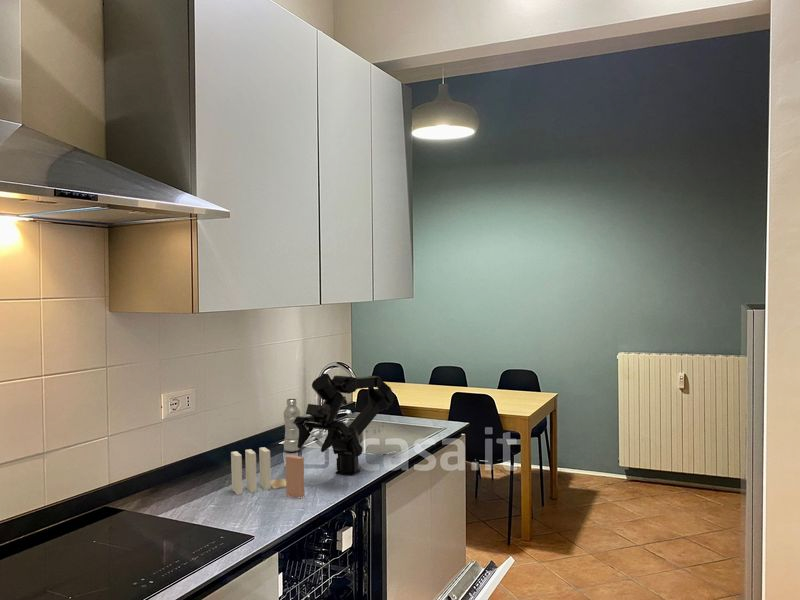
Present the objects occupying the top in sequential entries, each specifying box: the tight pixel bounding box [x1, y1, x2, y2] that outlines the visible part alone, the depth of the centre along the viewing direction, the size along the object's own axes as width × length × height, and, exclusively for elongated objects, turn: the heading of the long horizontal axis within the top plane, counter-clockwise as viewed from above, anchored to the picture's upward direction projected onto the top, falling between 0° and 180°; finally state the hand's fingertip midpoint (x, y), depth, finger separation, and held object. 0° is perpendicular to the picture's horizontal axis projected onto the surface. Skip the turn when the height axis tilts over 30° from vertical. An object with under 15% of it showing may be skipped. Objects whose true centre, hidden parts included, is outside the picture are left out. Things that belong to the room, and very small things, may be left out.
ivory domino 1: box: [230, 451, 243, 496], centre depth 197 cm, size 2×6×12 cm, turn 30°
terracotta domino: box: [285, 454, 305, 499], centre depth 192 cm, size 2×6×12 cm, turn 60°
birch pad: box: [271, 478, 286, 490], centre depth 204 cm, size 6×8×1 cm
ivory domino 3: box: [258, 446, 272, 491], centre depth 202 cm, size 2×6×12 cm, turn 30°
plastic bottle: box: [283, 398, 301, 453], centre depth 244 cm, size 6×7×20 cm
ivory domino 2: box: [244, 448, 258, 493], centre depth 199 cm, size 2×6×12 cm, turn 30°
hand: (310, 449), depth 198 cm, fingers open, 9 cm apart
